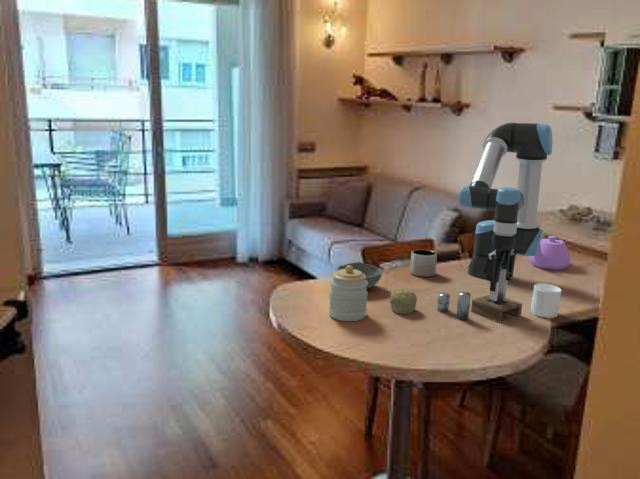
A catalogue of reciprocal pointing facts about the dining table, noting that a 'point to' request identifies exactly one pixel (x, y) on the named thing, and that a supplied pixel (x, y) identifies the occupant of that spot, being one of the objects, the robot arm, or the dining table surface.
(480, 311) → the block
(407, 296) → the decorative item
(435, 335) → the dining table surface
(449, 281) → the dining table surface
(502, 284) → the long pin
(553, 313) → the cup
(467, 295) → the medium pin
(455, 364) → the dining table surface
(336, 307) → the jar
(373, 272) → the bowl
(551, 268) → the teapot
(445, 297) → the short pin
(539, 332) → the dining table surface
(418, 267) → the planter
